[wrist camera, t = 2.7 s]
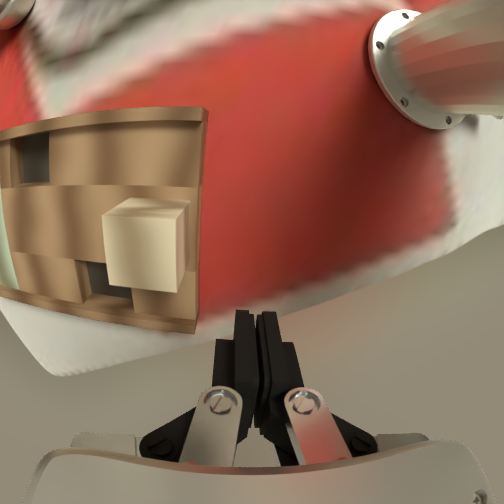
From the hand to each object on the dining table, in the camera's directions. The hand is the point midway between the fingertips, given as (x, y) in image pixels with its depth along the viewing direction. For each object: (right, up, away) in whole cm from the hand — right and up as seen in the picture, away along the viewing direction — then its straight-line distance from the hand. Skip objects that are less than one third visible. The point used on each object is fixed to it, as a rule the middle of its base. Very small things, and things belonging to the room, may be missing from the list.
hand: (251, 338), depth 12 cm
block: (-7, +5, +10) cm, 13 cm away
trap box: (-18, +7, +11) cm, 23 cm away
